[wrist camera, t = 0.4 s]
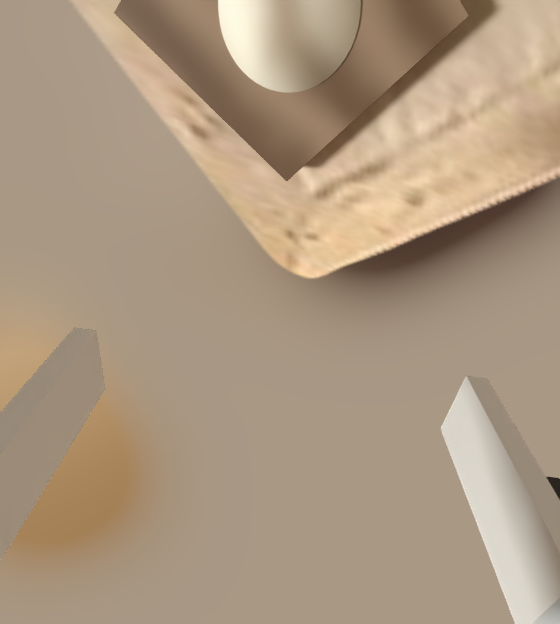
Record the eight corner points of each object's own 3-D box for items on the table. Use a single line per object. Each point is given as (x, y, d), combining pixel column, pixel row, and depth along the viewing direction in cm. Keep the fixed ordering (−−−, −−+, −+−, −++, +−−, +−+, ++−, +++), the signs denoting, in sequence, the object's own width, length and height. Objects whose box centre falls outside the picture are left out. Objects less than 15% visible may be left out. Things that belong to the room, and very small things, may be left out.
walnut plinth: (294, -283, 19) (293, -309, 17) (455, 8, 27) (469, 16, 25) (128, 5, 28) (113, 13, 25) (287, 165, 35) (286, 182, 33)
